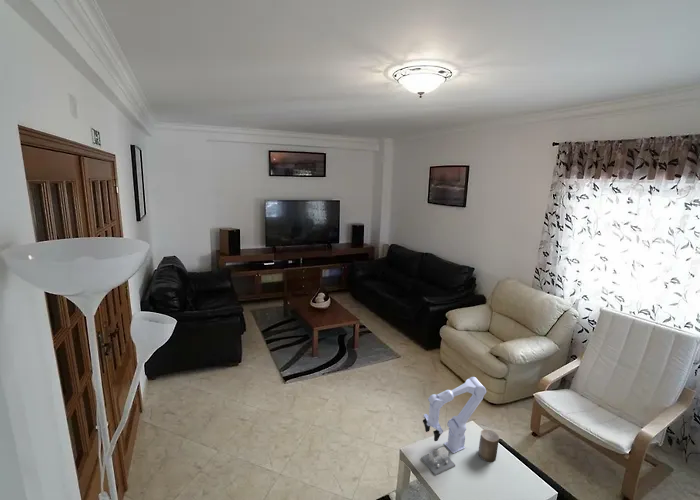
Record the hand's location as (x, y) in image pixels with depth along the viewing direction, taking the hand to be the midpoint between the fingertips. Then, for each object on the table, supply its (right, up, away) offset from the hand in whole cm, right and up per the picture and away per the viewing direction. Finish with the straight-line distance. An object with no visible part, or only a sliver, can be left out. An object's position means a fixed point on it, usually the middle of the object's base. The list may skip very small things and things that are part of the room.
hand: (431, 435), depth 200 cm
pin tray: (+2, -11, -6) cm, 13 cm away
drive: (+2, -10, -7) cm, 12 cm away
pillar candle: (+31, -11, 0) cm, 33 cm away
